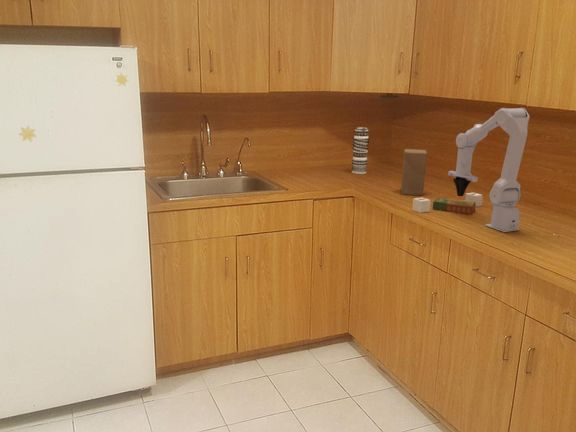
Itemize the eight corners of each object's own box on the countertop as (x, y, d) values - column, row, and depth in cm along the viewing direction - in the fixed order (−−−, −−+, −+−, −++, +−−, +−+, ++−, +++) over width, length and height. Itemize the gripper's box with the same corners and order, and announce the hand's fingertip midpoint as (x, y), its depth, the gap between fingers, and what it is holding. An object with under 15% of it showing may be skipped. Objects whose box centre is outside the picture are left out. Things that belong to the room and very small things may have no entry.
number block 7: (481, 206, 235) (482, 194, 233) (472, 207, 232) (474, 195, 231) (472, 203, 239) (474, 192, 237) (464, 204, 237) (465, 193, 235)
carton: (471, 215, 220) (472, 205, 219) (432, 210, 227) (432, 200, 226) (474, 211, 227) (475, 201, 226) (436, 206, 234) (437, 196, 233)
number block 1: (429, 211, 223) (430, 199, 222) (420, 213, 221) (421, 200, 219) (421, 208, 227) (422, 197, 226) (412, 210, 225) (413, 198, 224)
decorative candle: (360, 174, 297) (363, 128, 290) (347, 172, 303) (350, 127, 296) (370, 172, 303) (373, 127, 296) (357, 170, 309) (359, 126, 302)
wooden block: (423, 195, 250) (427, 153, 245) (401, 194, 252) (404, 151, 247) (422, 191, 260) (426, 150, 254) (401, 189, 262) (404, 148, 256)
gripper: (484, 165, 214) (480, 198, 218) (458, 159, 227) (455, 191, 230) (471, 166, 211) (467, 200, 215) (445, 160, 224) (442, 192, 227)
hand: (460, 195), depth 222 cm, fingers closed
